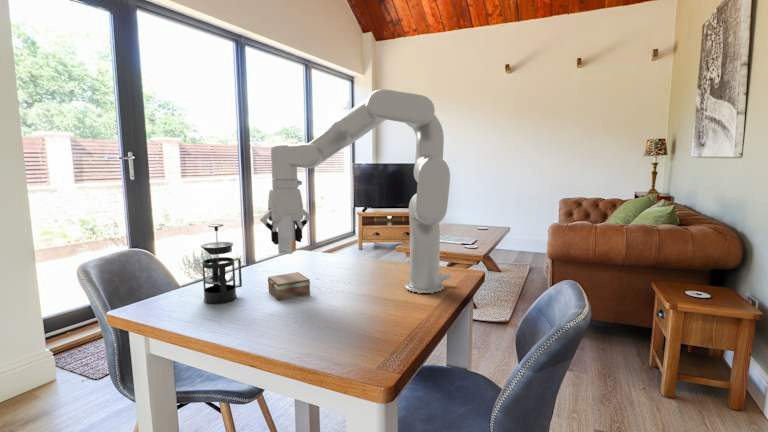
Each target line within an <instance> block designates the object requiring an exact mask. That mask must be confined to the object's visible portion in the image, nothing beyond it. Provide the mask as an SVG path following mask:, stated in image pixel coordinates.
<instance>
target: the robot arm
mask: <svg viewBox="0 0 768 432" xmlns="http://www.w3.org/2000/svg"><path fill="white" fill-rule="evenodd" d="M435 112H436V111H435V105H434V103H433V101H432V100H431V99H430V98H429V97H428V96H425V95H423V94H417V93H412V92H404V91H397V90H392V89H386V88H381V89H380V88H378V89H376V90H374V91H372V92H371V93H370V94H369V96H368V97H366V98H365V99H364V100H363V101H361V102H359V104H357V105H356V106H354V107H353V108H352V109H350V110H349V111H346V112H345V113H344V114H342V115H340V117H338V118H337V119H336V120H334V122H333V124H332V125H330V127H329V128H328V129H326V131H324V132H323V133H321V134H320V135H319V136H318V137H316V138H314V139H313V140H311V141H310V142H306V143H298V144H297V143H296V144H292V143H276V144H273V145H272V146H271V148H270V155H271V156H270V157H271V158H270V159H271V182H272V189H269V193H268V201H267V202H268V203H267V212H266V213H265V214H264V215H262V217H261V218H260V219H259V220H260V222H261V223H262V224H263V225H264V226H265V227H266V228H267V229H269V230H270V234H271V235H270V236H271V242H272V243H273V244H274V245H277V246H278V223H279V222H281V221H282V217H283V215H292V220H293V222H294V221H295V231H296V242H298V243H301V242H302V239H303V229H304V227H305V226H306V225H307V224H308V222H309V220H311V218H312V216H311V214H310V213H308V212H307V211H306V210H305V209H304V206H303V199H302V192H301V190H300V188H299V186H302V185H303V182H302V180H299V178H298V168H304V169H313V168H316V167H318V166H320V165H321V164H322V163H324V162H326V161H327V160H328V159H329V158H331V157H333V156H334V155H336V154H337V153H338V152H340V151H342V150H343V149H344V148H347V147H348V146H350V145H353V143H355V142H356V141H357V140H359V139H361V138H363V136H365V135H366V134H367V133H370V131H372V130H373V129H375V128H377V127H378V126H379V125H381V124H382V123H383V122H385V121H387V120H388V121H392V122H398V123H404V124H406V126H408V127H410V128H411V129H412V130H413V131H414V135H415V138H416V139H415V140H416V142H415V143H416V144H415V145H416V147H415V148H416V150H415V156H414V157H415V160H414V167H413V177H414V180H415V182H416V183H417V185H416V193H415V194H414V195H412V197H411V198H410V201H409V204H408V217H409V219H408V221H409V281H408V282H405V285H404V286H405V287H404V288H405V289H406V291H408V290H409V291H408V292H410V291H412V292H411V293H414V292H417V293H416V294H421V293H431V294H435V293H434V292H437V293H439V292H438V291H440V292H442V291H443V290H445V284H444V283H443V282H444V281H447V280H448V281H449V280H451V278H452V276H451V273H444V274H443V273H440V255H441V254H440V253H441V251H440V248H441V245H440V244H441V243H440V242H441V239H440V238H441V235H440V234H441V233H440V232H441V229H440V228H441V227H440V223H441V222H442V221H443V219H445V216H446V215H447V210H448V204H449V195H450V194H449V193H450V184H451V183H450V182H451V172H450V167H449V164H448V163H447V162H446V161H445V160H444V145H445V144H444V141H445V138H444V137H445V136H444V130H443V127H442V124H441V122H440V120H439V118H438V117H437V116H436V114H435ZM268 220H269V221H270V222H271V223H270V222H269V221H268ZM442 289H443V290H442ZM441 290H442V291H441Z"/></svg>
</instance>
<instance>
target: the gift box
mask: <svg viewBox="0 0 768 432" xmlns="http://www.w3.org/2000/svg"><path fill="white" fill-rule="evenodd" d="M267 282H268V292H269V294H271V296H273V297H274V298H275V299H276V300H277V301H284V300H289V299H294V298H300V297H306V296H310V295H311V290H310V289H311V288H310V287H311V281H310V278H308V277H307V276H305V275H303V274H302V273H300V272H298V271H297V272H291V273H284V274H278V275H271V276H268V277H267Z"/></svg>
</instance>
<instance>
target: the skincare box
mask: <svg viewBox="0 0 768 432" xmlns="http://www.w3.org/2000/svg"><path fill="white" fill-rule="evenodd" d="M295 229H296V224H295V221H294V222H293V220H292V215H283V217H282V221H281V222H279V223H278V227H277V232H278V244H277V246H278V247H277V248H278V249H277V250H278V254H279V255H292V254H293V253H294V252H295V251H296V250H297V241H296V231H295Z"/></svg>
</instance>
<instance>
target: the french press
mask: <svg viewBox="0 0 768 432" xmlns="http://www.w3.org/2000/svg"><path fill="white" fill-rule="evenodd" d="M208 227H209V228H214V232H215V239H216V240H215V241H216V242H215V241H214V242H207V243H203V244H202V245H200V247H201V248H202V249H203V250H204V251H205V252H206V253H208V254H209V255H214V256H217V257H212V258H206V259H204V260H202V262H201V266H202V280H203V302H204V303H205V304H208V305H221V304H228V303H231V302H233V301H235V300H236V299H237V298H238V295H237V289H236V288H242V285H243V284H242V282H243V280H242V279H243V278H242V265H241V263H242V261H241V258H238V257H237V258H236V257H235V258H233V257H227V256H226V257H222V256H221V257H219V255H225V254H228V253H229V254H230V253H231V252H232V251H233V245H234V243H233V242H230V241H218V232H219V228H220V227H224V224H220V223H213V224H210V225H208ZM236 261H237V263H238V265H237V267H238V282H239V284H236V272H235V270H236V269H235V262H236ZM222 262H223V263H222ZM229 267H231V268H232V269H231V270H232V275H228V274H227V272H226V268H229ZM205 269H212V271H211V272H212V276H208V277H206V276H205ZM231 282H232V284H228V283H231ZM206 284H207V285H211V286H207V287H206Z"/></svg>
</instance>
